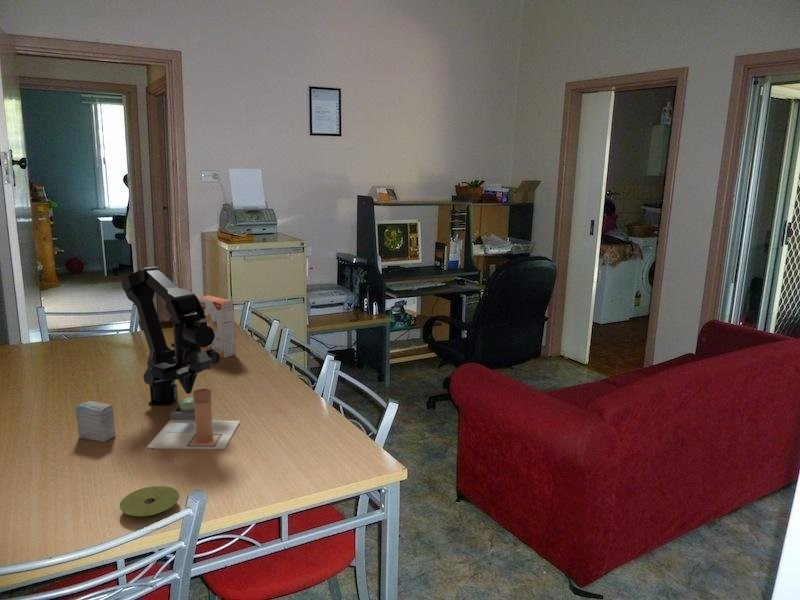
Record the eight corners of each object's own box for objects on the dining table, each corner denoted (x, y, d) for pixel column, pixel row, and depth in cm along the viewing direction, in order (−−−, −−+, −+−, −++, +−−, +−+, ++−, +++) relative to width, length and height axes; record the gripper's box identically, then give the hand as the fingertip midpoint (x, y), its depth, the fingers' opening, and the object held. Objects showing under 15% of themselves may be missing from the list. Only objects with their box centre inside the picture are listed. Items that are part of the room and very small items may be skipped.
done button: (177, 414, 164) (176, 404, 164) (183, 407, 169) (183, 397, 168) (195, 414, 164) (195, 404, 164) (201, 407, 169) (200, 397, 169)
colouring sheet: (147, 448, 147) (146, 446, 147) (170, 421, 163) (170, 419, 163) (224, 449, 148) (224, 447, 148) (240, 422, 163) (240, 420, 163)
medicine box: (116, 435, 154) (113, 404, 152) (102, 443, 150) (99, 411, 148) (92, 431, 156) (89, 399, 154) (78, 438, 152) (74, 406, 150)
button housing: (170, 421, 163) (169, 412, 163) (180, 409, 171) (179, 401, 170) (199, 421, 163) (199, 413, 163) (208, 409, 171) (208, 401, 170)
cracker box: (198, 352, 222) (195, 297, 217) (211, 348, 227) (208, 294, 222) (222, 359, 214) (220, 302, 210) (236, 355, 219) (233, 299, 214)
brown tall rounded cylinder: (192, 442, 150) (189, 393, 147) (202, 435, 154) (199, 387, 151) (207, 444, 149) (204, 396, 146) (216, 437, 153) (214, 390, 150)
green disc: (138, 491, 128) (137, 483, 128) (189, 495, 127) (188, 487, 127) (108, 522, 117) (108, 513, 117) (164, 526, 116) (163, 517, 116)
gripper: (174, 353, 150) (178, 411, 154) (232, 336, 165) (234, 389, 169) (147, 345, 156) (151, 401, 160) (205, 329, 171) (208, 381, 175)
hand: (188, 393), depth 166 cm, fingers closed
